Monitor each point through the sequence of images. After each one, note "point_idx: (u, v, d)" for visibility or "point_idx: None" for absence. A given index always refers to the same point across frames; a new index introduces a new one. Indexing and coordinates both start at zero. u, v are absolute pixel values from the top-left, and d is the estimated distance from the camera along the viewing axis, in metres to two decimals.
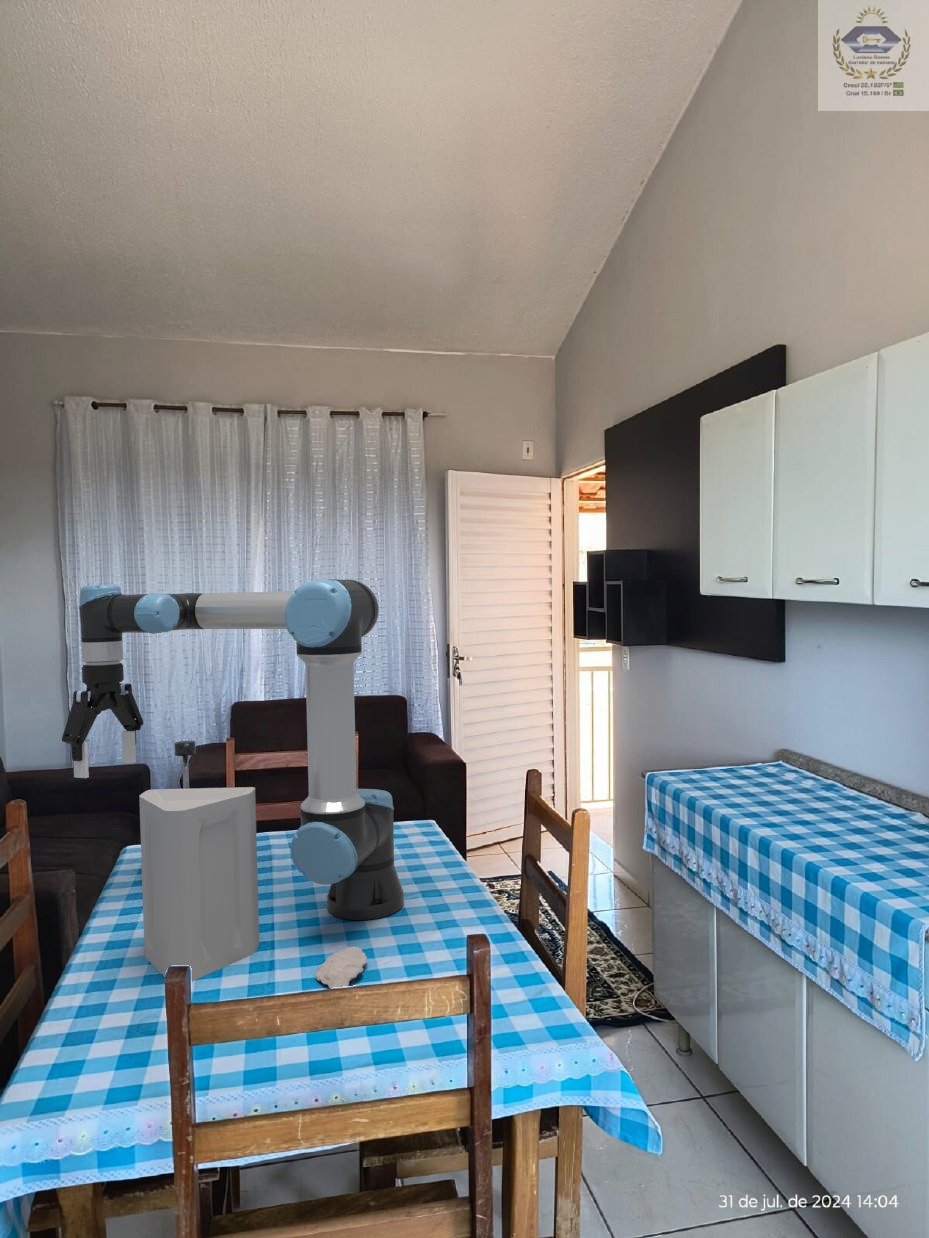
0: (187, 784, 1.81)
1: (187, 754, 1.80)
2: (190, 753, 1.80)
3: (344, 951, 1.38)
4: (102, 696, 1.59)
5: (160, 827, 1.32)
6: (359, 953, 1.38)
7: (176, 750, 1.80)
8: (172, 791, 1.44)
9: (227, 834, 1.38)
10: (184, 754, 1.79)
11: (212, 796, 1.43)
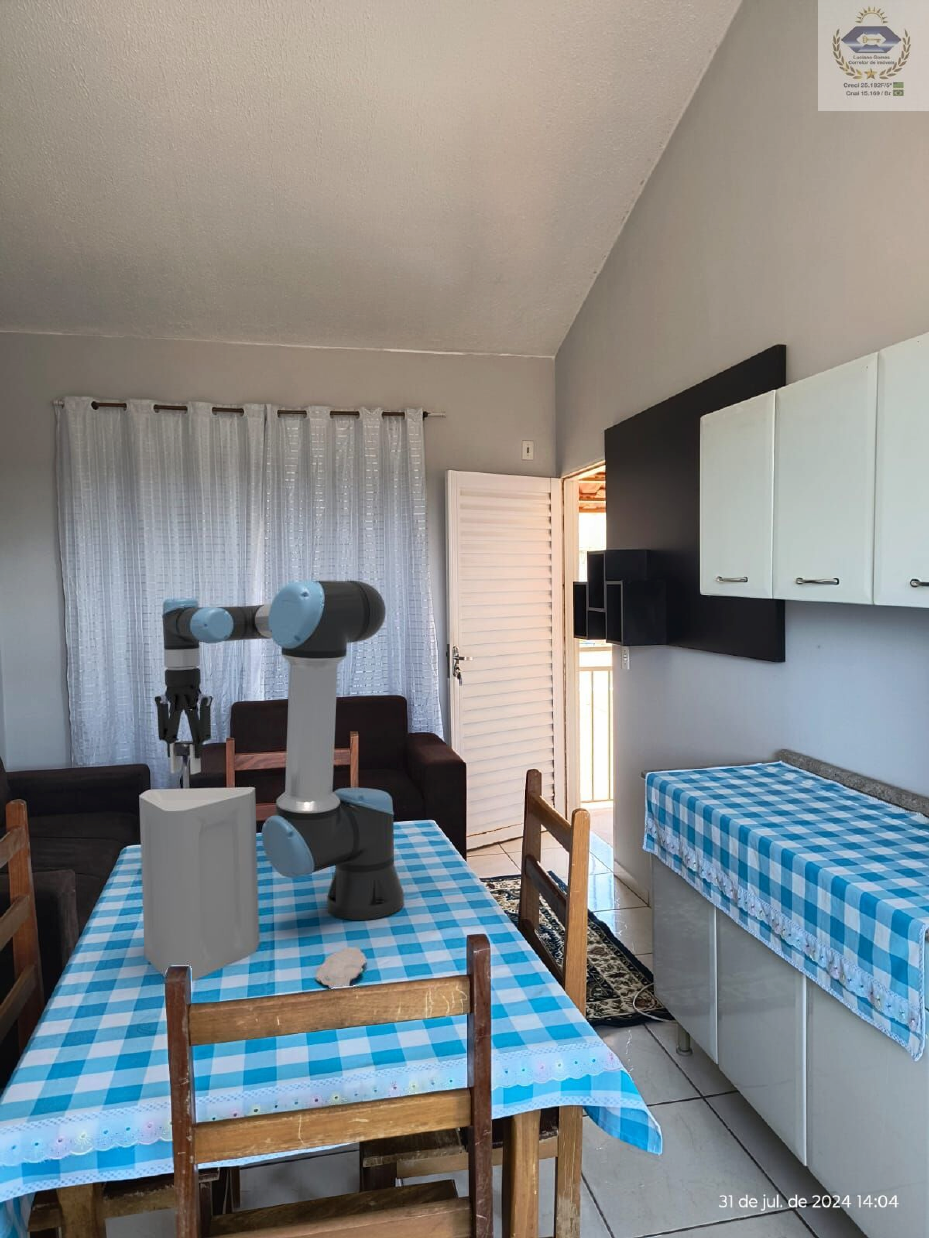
0: (187, 784, 1.81)
1: (187, 754, 1.80)
2: None
3: (343, 951, 1.38)
4: None
5: (160, 827, 1.32)
6: (358, 953, 1.38)
7: (176, 750, 1.80)
8: (172, 791, 1.44)
9: (227, 834, 1.38)
10: (184, 754, 1.79)
11: (212, 796, 1.43)
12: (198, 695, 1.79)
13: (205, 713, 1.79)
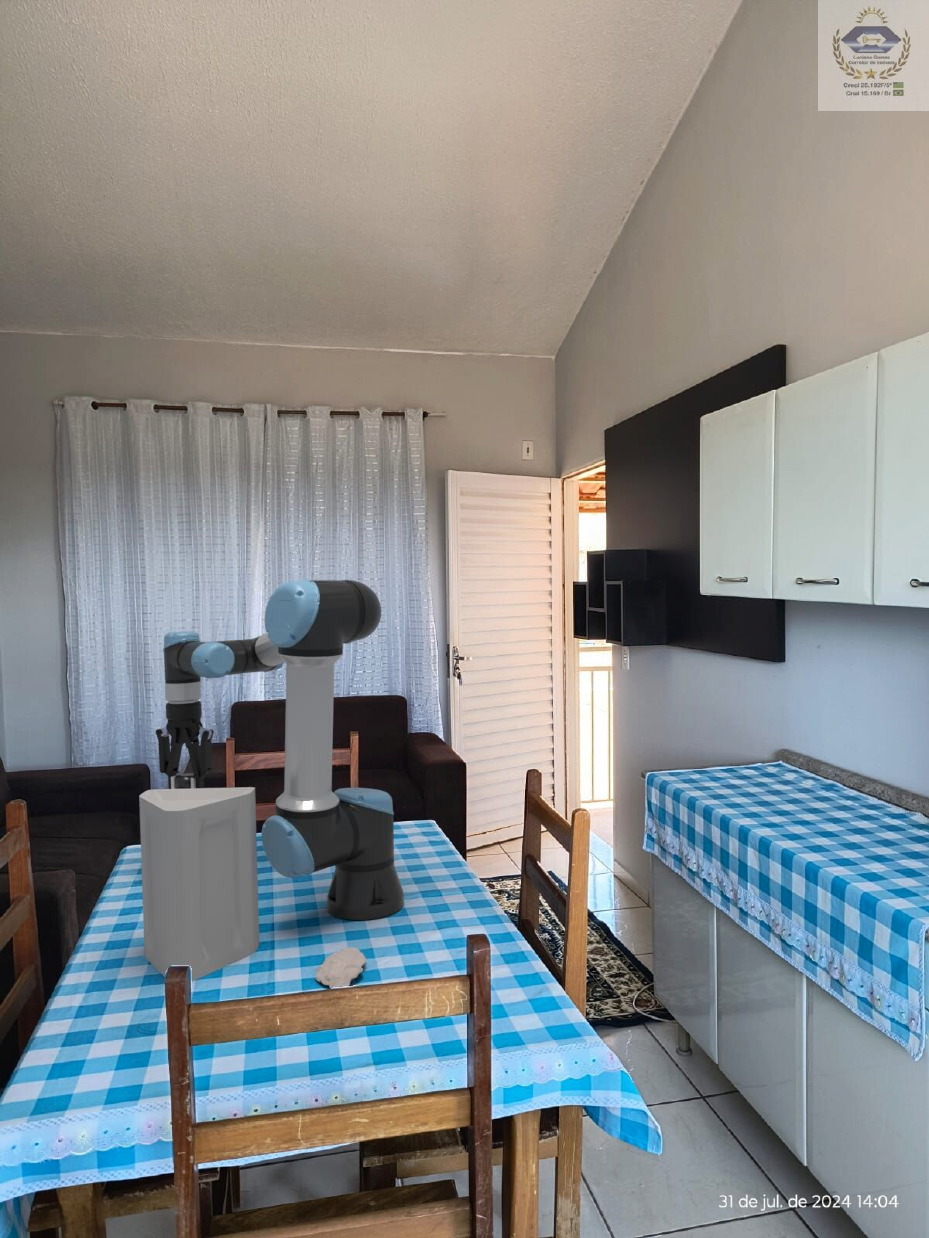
0: None
1: (188, 787, 1.80)
2: None
3: (342, 952, 1.38)
4: None
5: (160, 827, 1.32)
6: (357, 953, 1.38)
7: (177, 783, 1.80)
8: (172, 791, 1.44)
9: (227, 834, 1.38)
10: (185, 787, 1.80)
11: (212, 796, 1.43)
12: (199, 729, 1.80)
13: (206, 747, 1.79)
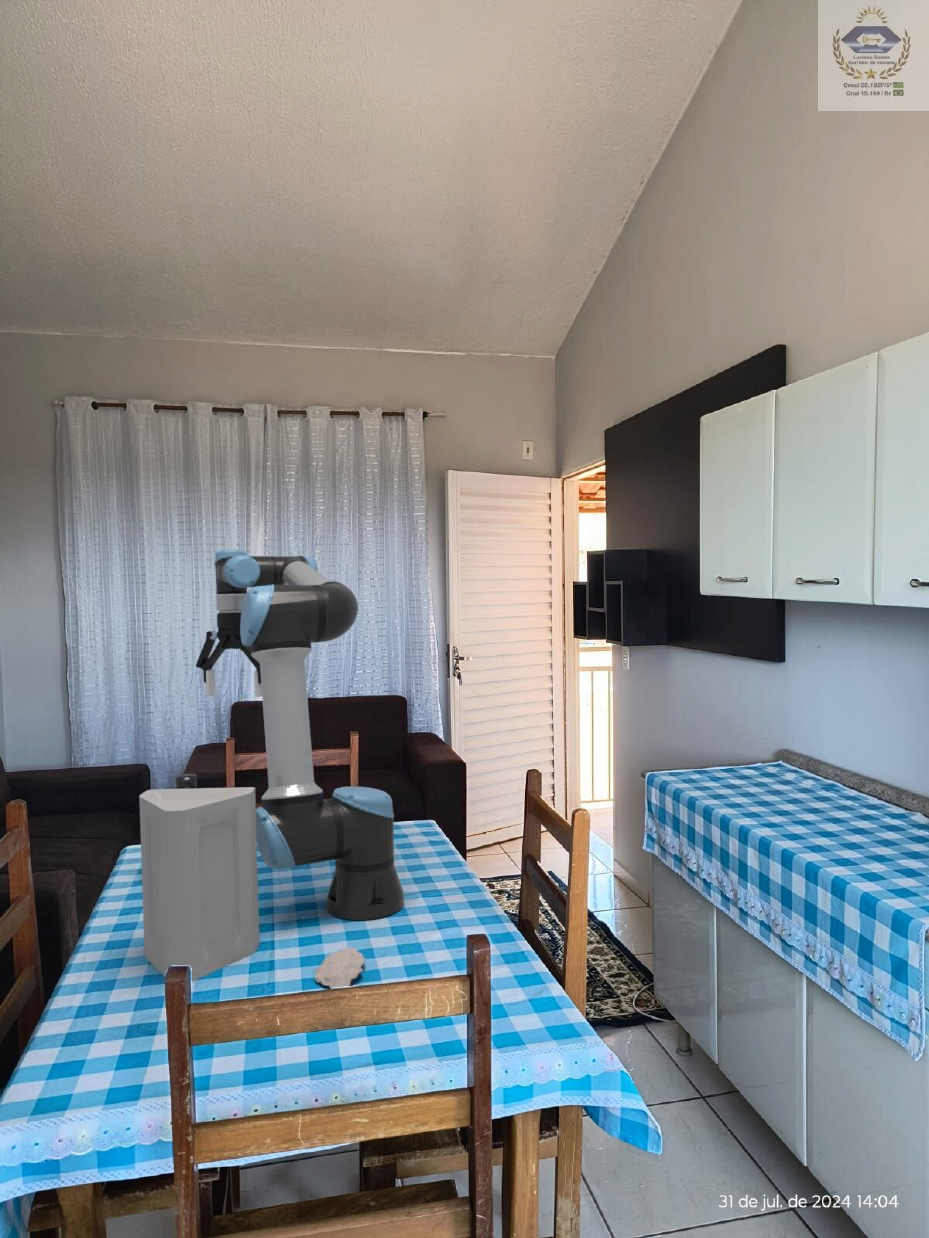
0: None
1: (188, 788, 1.80)
2: (191, 787, 1.80)
3: (341, 952, 1.38)
4: None
5: (160, 827, 1.32)
6: (356, 954, 1.38)
7: (177, 784, 1.80)
8: (172, 791, 1.44)
9: (227, 834, 1.38)
10: (185, 788, 1.80)
11: (212, 796, 1.43)
12: None
13: None
